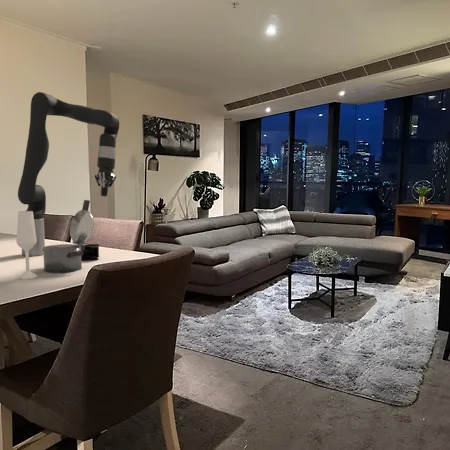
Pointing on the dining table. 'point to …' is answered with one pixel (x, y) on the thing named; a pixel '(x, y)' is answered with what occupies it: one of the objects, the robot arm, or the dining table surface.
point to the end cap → (90, 252)
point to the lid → (82, 225)
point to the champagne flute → (26, 238)
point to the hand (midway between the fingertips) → (104, 196)
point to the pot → (63, 258)
